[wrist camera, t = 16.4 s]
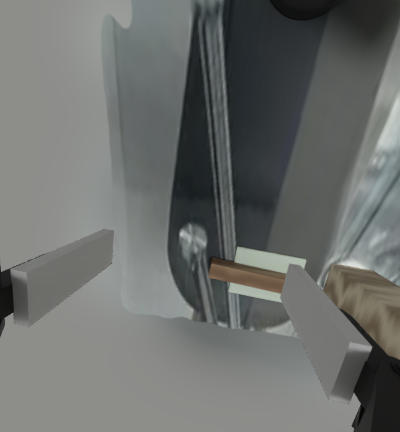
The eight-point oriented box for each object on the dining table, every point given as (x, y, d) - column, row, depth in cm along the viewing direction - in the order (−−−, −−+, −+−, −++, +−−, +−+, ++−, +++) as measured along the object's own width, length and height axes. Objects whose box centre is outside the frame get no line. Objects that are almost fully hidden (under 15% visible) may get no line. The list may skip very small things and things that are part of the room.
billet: (212, 257, 47) (211, 263, 43) (295, 275, 45) (301, 283, 42) (209, 270, 47) (208, 277, 44) (291, 288, 46) (296, 297, 42)
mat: (237, 246, 46) (237, 247, 45) (305, 258, 45) (306, 259, 44) (228, 290, 48) (228, 291, 48) (292, 303, 47) (293, 304, 47)
